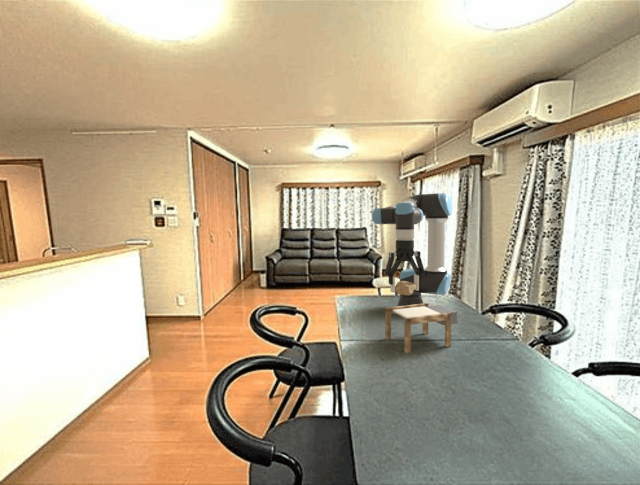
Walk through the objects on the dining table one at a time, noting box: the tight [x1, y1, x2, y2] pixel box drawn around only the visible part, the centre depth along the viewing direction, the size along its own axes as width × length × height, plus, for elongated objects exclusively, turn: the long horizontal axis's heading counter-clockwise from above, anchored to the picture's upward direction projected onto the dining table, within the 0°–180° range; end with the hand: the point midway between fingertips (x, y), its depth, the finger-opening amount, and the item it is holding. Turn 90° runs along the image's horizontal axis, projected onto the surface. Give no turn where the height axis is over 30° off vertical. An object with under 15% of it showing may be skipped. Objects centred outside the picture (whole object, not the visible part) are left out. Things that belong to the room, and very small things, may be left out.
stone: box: [395, 280, 417, 296], centre depth 151 cm, size 8×10×4 cm
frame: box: [384, 302, 452, 354], centre depth 152 cm, size 21×18×14 cm
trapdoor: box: [393, 304, 458, 326], centre depth 153 cm, size 24×14×5 cm, turn 108°
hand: (404, 290), depth 152 cm, fingers closed on stone, 11 cm apart
